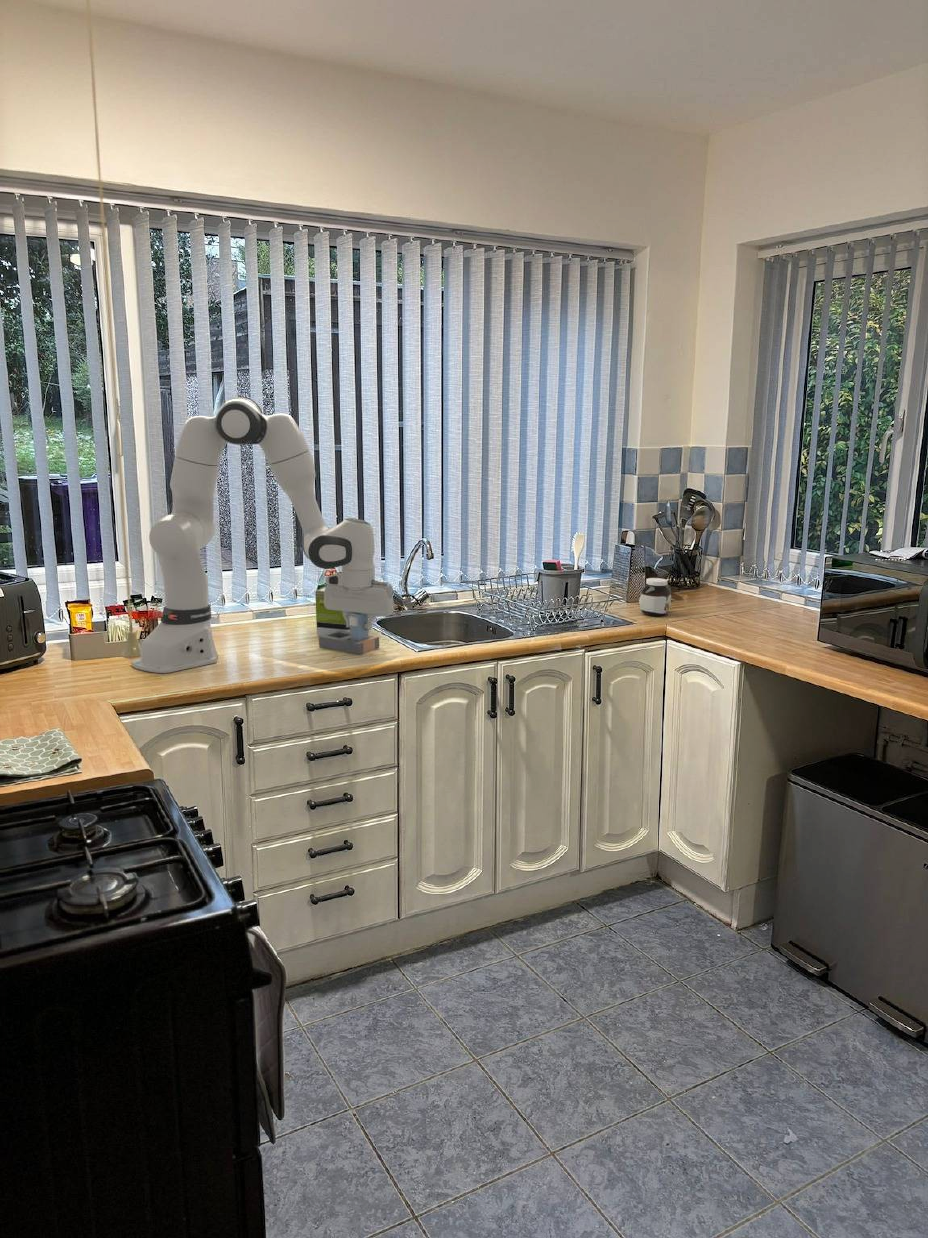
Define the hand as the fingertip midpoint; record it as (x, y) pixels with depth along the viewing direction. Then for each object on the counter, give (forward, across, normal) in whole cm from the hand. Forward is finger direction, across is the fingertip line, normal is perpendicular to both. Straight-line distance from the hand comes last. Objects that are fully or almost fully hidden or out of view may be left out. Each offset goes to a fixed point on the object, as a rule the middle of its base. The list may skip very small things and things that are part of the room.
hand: (359, 628), depth 255 cm
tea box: (+7, +15, -15) cm, 22 cm away
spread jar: (+7, -61, -88) cm, 107 cm away
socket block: (+7, +4, 0) cm, 8 cm away
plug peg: (+5, 0, 0) cm, 5 cm away
